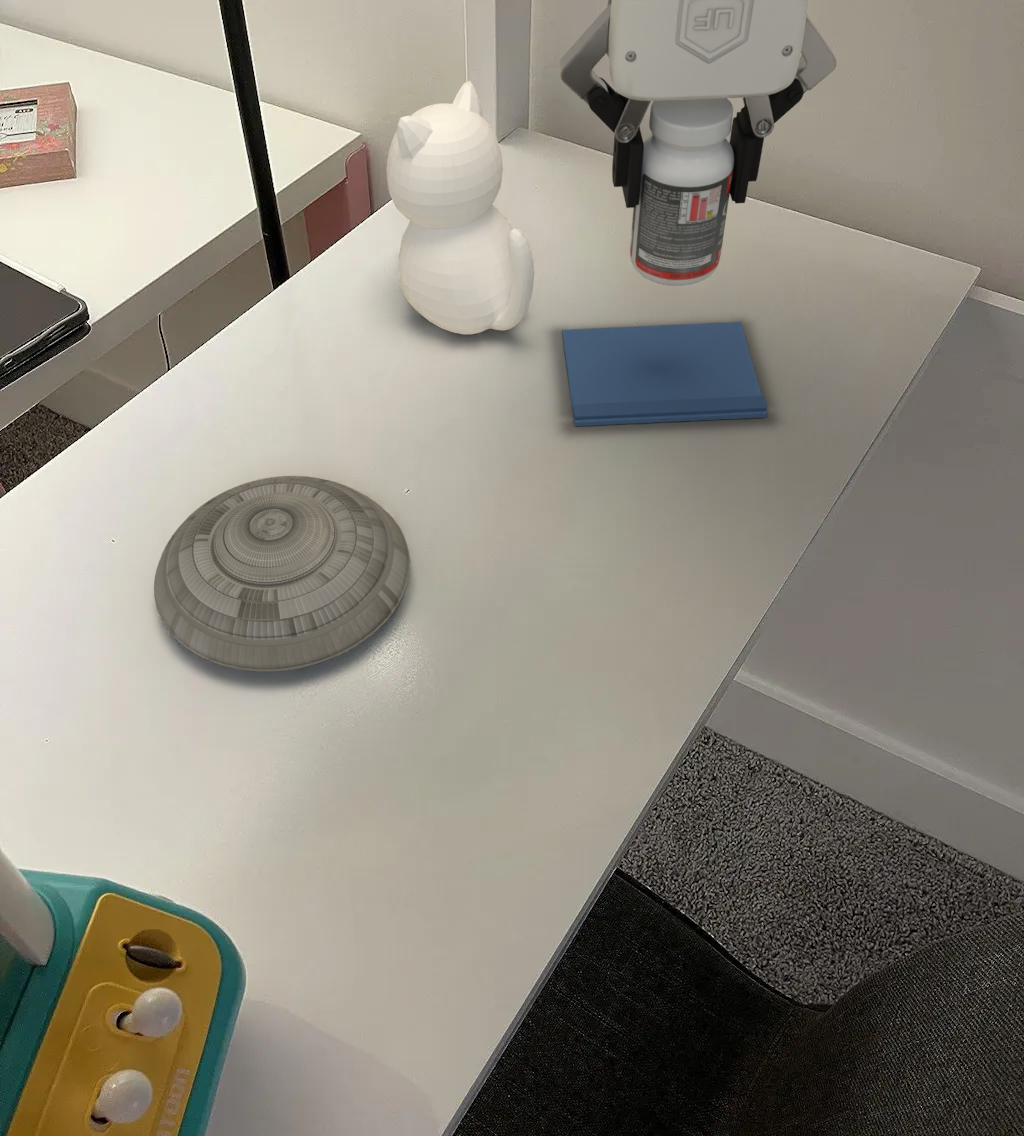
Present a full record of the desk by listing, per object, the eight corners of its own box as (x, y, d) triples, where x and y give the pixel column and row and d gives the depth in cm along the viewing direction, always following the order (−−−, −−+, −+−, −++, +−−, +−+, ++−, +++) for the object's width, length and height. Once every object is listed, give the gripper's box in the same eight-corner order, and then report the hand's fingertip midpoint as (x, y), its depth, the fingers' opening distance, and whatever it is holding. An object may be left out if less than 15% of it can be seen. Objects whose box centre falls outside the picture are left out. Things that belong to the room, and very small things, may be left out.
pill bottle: (734, 277, 71) (761, 121, 63) (653, 298, 70) (670, 141, 62) (693, 229, 74) (713, 74, 66) (614, 248, 73) (625, 93, 65)
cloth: (739, 326, 82) (741, 318, 82) (766, 417, 76) (767, 409, 76) (562, 334, 82) (562, 325, 81) (574, 426, 76) (574, 418, 75)
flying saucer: (325, 724, 62) (310, 663, 57) (108, 630, 66) (78, 566, 61) (456, 544, 70) (451, 478, 65) (254, 470, 74) (237, 403, 69)
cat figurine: (452, 253, 88) (439, 53, 76) (574, 318, 83) (582, 115, 71) (368, 306, 84) (341, 104, 72) (492, 378, 79) (485, 174, 67)
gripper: (549, -128, 51) (544, 234, 66) (925, -141, 52) (837, 222, 66) (538, -186, 56) (535, 166, 70) (883, -198, 56) (809, 154, 71)
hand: (682, 190), depth 68 cm, fingers closed on pill bottle, 5 cm apart
